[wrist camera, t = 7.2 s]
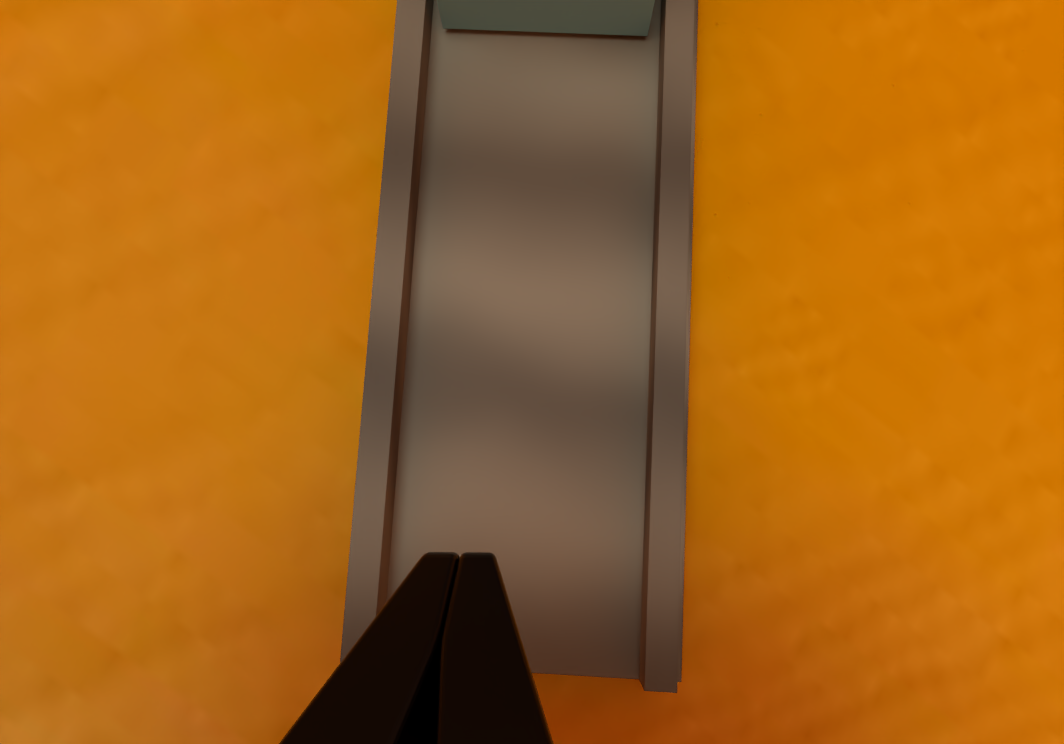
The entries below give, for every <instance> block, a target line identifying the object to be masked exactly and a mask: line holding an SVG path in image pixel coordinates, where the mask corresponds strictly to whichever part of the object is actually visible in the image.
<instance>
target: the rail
mask: <svg viewBox="0 0 1064 744" xmlns="http://www.w3.org/2000/svg"><path fill="white" fill-rule="evenodd" d="M697 20H698V0H655V3H654V7H653V12H652V17H651V21H650V26H649V30H648V35H647V36H631V35H604V34H577V33H550V32H524V31H497V30H470V29H443V26H442V22H441V17H440V13H439V9H438V4H437V0H397V9H396V21H395V33H394V44H393V56H392V67H391V79H390V91H389V102H388V114H387V125H386V137H385V148H384V160H383V172H382V183H381V195H380V206H379V218H378V230H377V241H376V253H375V264H374V276H373V288H372V299H371V311H370V322H369V334H368V345H367V357H366V369H365V380H364V392H363V403H362V415H361V427H360V438H359V450H358V461H357V473H356V485H355V496H354V508H353V519H352V531H351V543H350V554H349V566H348V577H347V589H346V600H345V612H344V624H343V635H342V647H341V658H340V663H341V662H342V660H343V659H344V658H345V656H346V655H347V654H348V653H349V651H350V650H351V649H352V647H353V646H354V645H355V643H356V642H357V641H358V639H359V638H360V637H361V635H362V634H363V633H364V632H365V630H366V629H367V628H368V626H369V625H370V624H371V622H372V621H373V620H374V618H375V617H376V616H377V614H378V613H379V612H380V610H381V609H382V608H383V607H384V605H385V604H386V603H387V601H388V600H389V599H390V597H391V596H392V595H393V593H394V592H395V591H396V589H397V588H398V587H399V586H400V584H401V583H402V582H403V580H404V579H405V578H406V576H407V575H408V574H409V572H410V571H411V570H412V568H413V567H414V566H415V564H416V563H417V562H418V561H419V559H420V558H421V557H422V556H423V555H424V554H426V553H428V552H455V553H457V554H458V555H459V556H461V554H463V553H465V552H491V553H493V554H494V555H495V556H496V559H497V562H498V565H499V569H500V572H501V575H502V578H503V582H504V585H505V588H506V591H507V595H508V598H509V601H510V604H511V608H512V611H513V614H514V617H515V621H516V624H517V627H518V630H519V634H520V637H521V640H522V643H523V647H524V650H525V653H526V656H527V660H528V663H529V666H530V669H531V672H532V673H546V674H562V675H578V676H594V677H611V678H627V679H639V680H640V682H641V684H642V686H643V689H644V691H656V692H672V693H677V682H681V670H682V629H683V589H684V548H685V507H686V467H687V426H688V385H689V345H690V304H691V264H692V223H693V182H694V142H695V101H696V60H697Z"/></svg>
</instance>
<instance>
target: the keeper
mask: <svg viewBox="0 0 1064 744" xmlns="http://www.w3.org/2000/svg"><path fill="white" fill-rule="evenodd" d="M654 3H655V0H437V4H438V9H439V13H440V17H441V22H442V26H443V29H470V30H497V31H524V32H550V33H577V34H604V35H631V36H647V35H648V30H649V26H650V21H651V17H652V12H653V7H654Z"/></svg>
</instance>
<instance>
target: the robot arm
mask: <svg viewBox="0 0 1064 744" xmlns="http://www.w3.org/2000/svg"><path fill="white" fill-rule="evenodd" d="M279 744H553V741H552V737H551V734H550V731H549V728H548V724H547V721H546V718H545V715H544V711H543V708H542V705H541V702H540V698H539V695H538V692H537V689H536V685H535V682H534V679H533V676H532V672H531V669H530V666H529V663H528V660H527V656H526V653H525V650H524V647H523V643H522V640H521V637H520V634H519V630H518V627H517V624H516V621H515V617H514V614H513V611H512V608H511V604H510V601H509V598H508V595H507V591H506V588H505V585H504V582H503V578H502V575H501V572H500V569H499V565H498V562H497V559H496V556H495V555H494V554H493V553H491V552H465V553H463V554H461V556H459V555H458V554H457V553H455V552H428V553H426V554H424V555H423V556H422V557H421V558H420V559H419V561H418V562H417V563H416V564H415V566H414V567H413V568H412V570H411V571H410V572H409V574H408V575H407V576H406V578H405V579H404V580H403V582H402V583H401V584H400V586H399V587H398V588H397V589H396V591H395V592H394V593H393V595H392V596H391V597H390V599H389V600H388V601H387V603H386V604H385V605H384V607H383V608H382V609H381V610H380V612H379V613H378V614H377V616H376V617H375V618H374V620H373V621H372V622H371V624H370V625H369V626H368V628H367V629H366V630H365V632H364V633H363V634H362V635H361V637H360V638H359V639H358V641H357V642H356V643H355V645H354V646H353V647H352V649H351V650H350V651H349V653H348V654H347V655H346V656H345V658H344V659H343V660H342V662H341V663H340V664H339V666H338V667H337V668H336V670H335V671H334V672H333V674H332V675H331V676H330V678H329V679H328V680H327V681H326V683H325V684H324V685H323V687H322V688H321V689H320V691H319V692H318V693H317V695H316V696H315V697H314V699H313V700H312V701H311V702H310V704H309V705H308V706H307V708H306V709H305V710H304V712H303V713H302V714H301V716H300V717H299V718H298V720H297V721H296V722H295V724H294V725H293V726H292V727H291V729H290V730H289V731H288V733H287V734H286V735H285V737H284V738H283V739H282V741H281V742H280V743H279Z"/></svg>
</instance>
